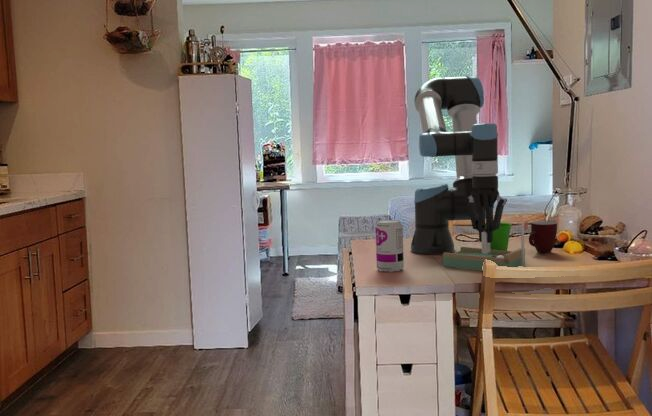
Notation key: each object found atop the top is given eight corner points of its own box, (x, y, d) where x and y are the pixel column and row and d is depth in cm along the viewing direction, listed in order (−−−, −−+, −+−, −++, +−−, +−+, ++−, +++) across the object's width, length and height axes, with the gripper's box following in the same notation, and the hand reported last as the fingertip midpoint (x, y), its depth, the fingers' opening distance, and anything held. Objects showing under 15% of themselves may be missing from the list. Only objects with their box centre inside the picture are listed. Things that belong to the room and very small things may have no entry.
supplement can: (385, 273, 176) (383, 224, 175) (372, 268, 184) (370, 221, 182) (408, 270, 180) (407, 221, 178) (395, 265, 187) (393, 218, 185)
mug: (542, 256, 191) (542, 226, 189) (521, 253, 197) (521, 224, 196) (561, 252, 197) (561, 222, 196) (540, 249, 203) (540, 220, 202)
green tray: (443, 266, 183) (442, 249, 183) (462, 259, 192) (461, 243, 191) (507, 273, 169) (507, 255, 169) (525, 266, 178) (524, 248, 178)
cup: (497, 261, 186) (496, 227, 185) (477, 257, 194) (476, 224, 193) (518, 258, 190) (518, 224, 189) (498, 254, 198) (497, 221, 197)
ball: (490, 268, 176) (492, 255, 175) (495, 266, 179) (497, 253, 179) (503, 271, 174) (505, 257, 173) (508, 269, 177) (510, 256, 176)
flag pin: (518, 270, 173) (518, 222, 172) (524, 267, 177) (523, 221, 175) (525, 270, 172) (524, 223, 171) (530, 268, 175) (530, 221, 174)
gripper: (459, 176, 179) (460, 253, 181) (499, 176, 170) (500, 256, 172) (471, 174, 184) (472, 249, 187) (511, 174, 175) (511, 252, 178)
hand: (486, 252), depth 179 cm, fingers closed
